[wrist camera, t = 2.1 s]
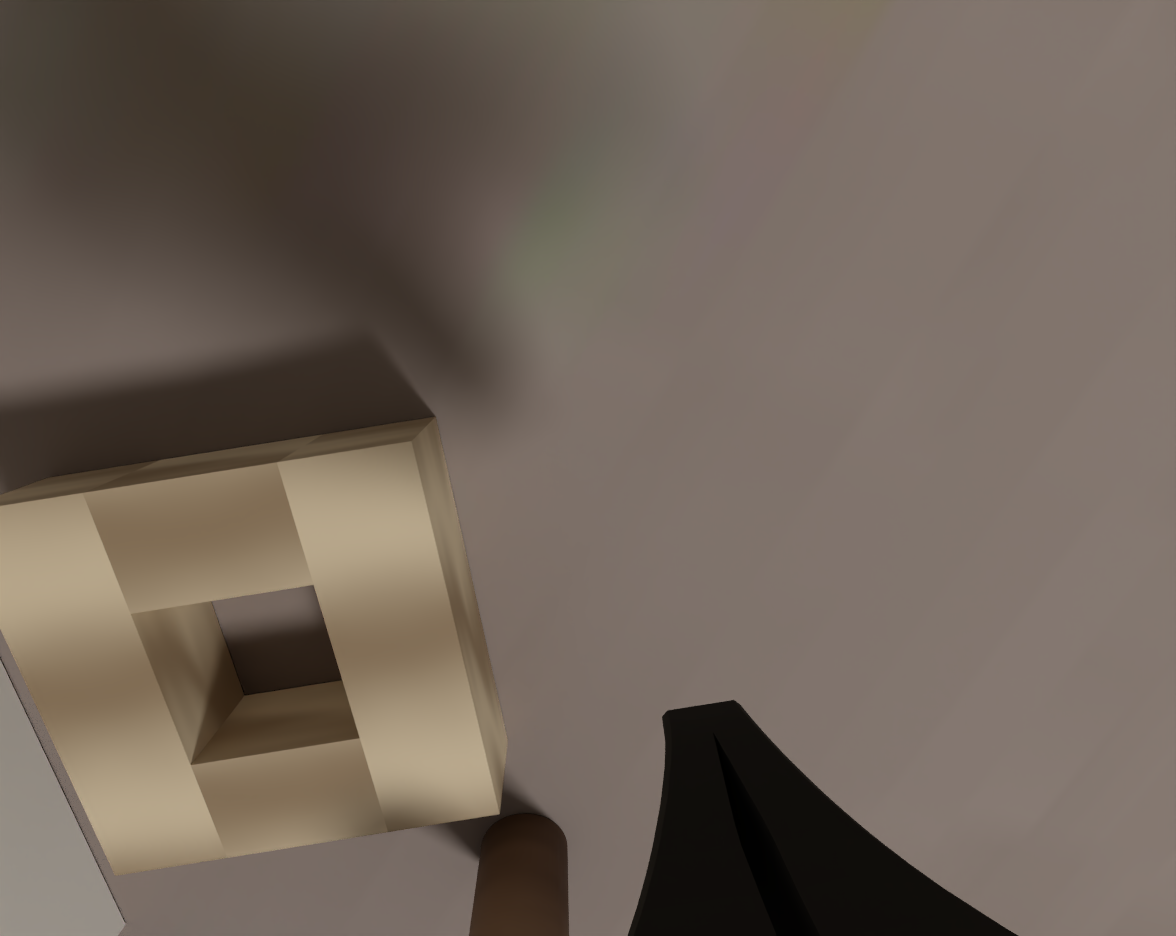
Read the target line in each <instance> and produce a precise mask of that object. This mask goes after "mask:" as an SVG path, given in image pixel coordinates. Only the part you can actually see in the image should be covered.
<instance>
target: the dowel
mask: <svg viewBox="0 0 1176 936" xmlns="http://www.w3.org/2000/svg"><path fill="white" fill-rule="evenodd" d="M469 936H569V910H568V856H567V841H566V837H565V835H564V833H563V832H562V830H561V829H560V828H559V827H558V825H556V824H555V823H554V822H552V821H551V820H549V819H547V818H545V817H542V816H539V815H535V814H516V815H511V816H508V817H505V818H503V819H501V820H499V821H498V822H496V823H495V824H494V825H492V826H491V827H490V828H489V830H488V831H487V832H486V834H485V836H484V838H483V841H482V845H481V853H480V860H479V867H478V874H477V882H476V889H475V896H474V904H473V911H472V918H471V926H470V933H469Z"/></svg>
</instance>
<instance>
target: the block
mask: <svg viewBox="0 0 1176 936" xmlns="http://www.w3.org/2000/svg"><path fill="white" fill-rule="evenodd" d="M309 585H314V588H315V591H316V594H317V598H318V601H319V604H320V608H321V611H322V614H323V618H324V621H325V624H326V628H327V631H328V634H329V638H330V641H331V644H332V648H333V651H334V654H335V657H336V661H337V664H338V667H339V671H340V674H341V677H342V680H340V681H334V682H328V683H321V684H315V685H309V686H303V687H296V688H290V689H284V690H277V691H271V692H265V693H259V694H252V695H246V696H244V693H243V690H242V687H241V684H240V682H239V679H238V676H237V673H236V670H235V667H234V665H233V662H232V659H231V656H230V653H229V651H228V648H227V645H226V642H225V639H224V636H223V634H222V631H221V628H220V625H219V622H218V620H217V617H216V614H215V611H214V608H213V605H212V603H211V601H215V600H221V599H227V598H234V597H240V596H246V595H252V594H259V593H265V592H271V591H278V590H284V589H290V588H297V587H303V586H309ZM0 629H1V631H2V633H3V636H4V638H5V640H6V642H7V644H8V646H9V648H10V651H11V653H12V655H13V657H14V659H15V661H16V663H17V666H18V668H19V670H20V672H21V674H22V676H23V678H24V681H25V683H26V685H27V687H28V689H29V691H30V694H31V696H32V698H33V700H34V702H35V704H36V706H37V709H38V711H39V713H40V715H41V717H42V719H43V721H44V724H45V726H46V728H47V730H48V732H49V734H50V737H51V739H52V741H53V743H54V745H55V747H56V749H57V752H58V754H59V756H60V758H61V760H62V762H63V764H64V767H65V769H66V771H67V773H68V775H69V777H70V779H71V782H72V784H73V786H74V788H75V790H76V792H77V795H78V797H79V799H80V801H81V803H82V805H83V807H84V810H85V812H86V814H87V816H88V818H89V820H90V822H91V825H92V827H93V829H94V831H95V833H96V835H97V838H98V840H99V842H100V844H101V846H102V848H103V850H104V853H105V855H106V857H107V859H108V861H109V863H110V865H111V868H112V870H113V872H114V874H115V876H117V875H123V874H129V873H135V872H142V871H148V870H154V869H160V868H167V867H173V866H179V865H185V864H191V863H198V862H204V861H210V860H216V859H223V858H229V857H235V856H241V855H248V854H254V853H260V852H266V851H273V850H279V849H285V848H291V847H298V846H304V845H310V844H316V843H323V842H329V841H335V840H341V839H348V838H354V837H360V836H366V835H373V834H379V833H385V832H391V831H397V830H404V829H410V828H416V827H422V826H429V825H435V824H441V823H447V822H454V821H460V820H466V819H472V818H479V817H485V816H491V815H497V814H500V806H501V797H502V788H503V779H504V770H505V761H506V752H507V743H508V740H507V735H506V731H505V726H504V722H503V717H502V713H501V708H500V704H499V699H498V695H497V690H496V686H495V681H494V677H493V672H492V668H491V663H490V659H489V654H488V650H487V645H486V641H485V636H484V632H483V627H482V623H481V618H480V614H479V609H478V605H477V600H476V596H475V591H474V587H473V582H472V578H471V573H470V569H469V564H468V560H467V555H466V551H465V546H464V542H463V537H462V533H461V528H460V524H459V519H458V515H457V510H456V506H455V501H454V497H453V492H452V488H451V483H450V479H449V474H448V470H447V465H446V461H445V456H444V452H443V447H442V443H441V438H440V434H439V429H438V425H437V420H436V417H430V418H423V419H417V420H411V421H404V422H398V423H392V424H385V425H379V426H373V427H366V428H360V429H354V430H347V431H341V432H335V433H328V434H322V435H316V436H309V437H303V438H296V439H290V440H284V441H277V442H271V443H265V444H258V445H252V446H246V447H239V448H233V449H227V450H220V451H214V452H208V453H201V454H195V455H189V456H182V457H176V458H169V459H163V460H157V461H150V462H144V463H138V464H131V465H125V466H119V467H112V468H106V469H100V470H93V471H87V472H81V473H74V474H68V475H62V476H55V477H49V478H46V479H43V480H40V481H37V482H35V483H32V484H29V485H26V486H24V487H21V488H18V489H15V490H13V491H10V492H7V493H4V494H2V495H0Z"/></svg>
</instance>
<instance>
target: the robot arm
mask: <svg viewBox="0 0 1176 936" xmlns="http://www.w3.org/2000/svg"><path fill="white" fill-rule="evenodd" d="M662 720H663V727H664V735H665V770H664V779H663V788H662V797H661V804H660V811H659V816H658V821H657V826H656V832H655V837H654V842H653V847H652V852H651V856H650V861H649V865H648V869H647V873H646V877H645V880H644V884H643V888H642V891H641V895H640V898H639V902H638V905H637V909H636V912H635V915H634V918H633V921H632V924H631V927H630V930H629V933H628V936H1018V935H1016V934H1014V933H1013V932H1011V931H1009V930H1008V929H1006V928H1004V927H1003V926H1001V925H1000V924H998V923H997V922H995V921H993V920H992V919H990V918H989V917H987V916H986V915H984V914H983V913H981V912H980V911H978V910H976V909H975V908H973V907H972V906H970V905H969V904H967V903H966V902H964V901H962V900H961V899H959V898H958V897H956V896H955V895H953V894H952V893H950V892H948V891H947V890H945V889H944V888H942V887H941V886H940V885H938V884H937V883H935V882H934V881H933V880H931V879H930V878H928V877H927V876H926V875H924V874H923V873H921V872H920V871H919V870H917V869H916V868H914V867H913V866H912V865H910V864H909V863H908V862H906V861H905V860H904V859H902V858H901V857H900V856H898V855H897V854H896V853H894V852H893V851H892V850H891V849H889V848H888V847H887V846H885V845H884V844H883V843H881V842H880V841H879V840H878V839H876V838H875V837H874V836H873V835H872V834H870V833H869V832H868V831H867V830H865V829H864V828H863V827H862V826H861V825H859V824H858V823H857V822H856V821H855V820H854V819H852V818H851V817H850V816H849V815H848V814H847V813H846V812H844V811H843V810H842V809H841V808H840V807H839V806H838V805H836V804H835V803H834V802H833V801H832V800H831V799H830V798H829V797H828V796H826V795H825V794H824V793H823V792H822V791H821V790H820V789H819V788H818V787H817V786H816V785H815V784H814V783H813V782H812V781H811V780H810V779H809V778H808V777H806V776H805V775H804V774H803V773H802V772H801V771H800V770H799V769H798V768H797V767H796V766H795V765H794V764H793V763H792V762H791V761H790V760H789V759H788V758H787V757H786V756H785V755H784V754H783V753H782V752H781V751H780V749H779V748H778V747H777V746H776V745H775V744H774V743H773V742H772V741H771V740H770V739H769V738H768V737H767V735H766V734H765V733H764V732H763V731H762V730H761V729H760V728H759V727H758V725H757V724H756V723H755V722H754V721H753V720H752V718H751V717H750V716H749V715H748V714H747V712H746V711H745V710H744V709H743V708H742V706H741V705H740V704H739V703H737V702H736V701H734V700H731V701H725V702H719V703H712V704H706V705H700V706H693V707H687V708H681V709H674V710H668V711H667V712H666V713H665V714H664V715H663V716H662Z"/></svg>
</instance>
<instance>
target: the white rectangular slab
mask: <svg viewBox="0 0 1176 936" xmlns="http://www.w3.org/2000/svg"><path fill="white" fill-rule="evenodd" d="M125 925H126V924H125V922H124V920H123V918H122V916H121V914H120V912H119V909H118V907H117V905H116V903H115V901H114V899H113V897H112V895H111V892H110V890H109V888H108V886H107V884H106V882H105V880H104V878H103V876H102V873H101V871H100V869H99V867H98V865H97V863H96V861H95V859H94V857H93V854H92V852H91V850H90V848H89V846H88V844H87V842H86V840H85V837H84V835H83V833H82V831H81V829H80V827H79V825H78V823H77V821H76V818H75V816H74V814H73V812H72V810H71V808H70V806H69V804H68V801H67V799H66V797H65V795H64V793H63V791H62V789H61V787H60V785H59V782H58V780H57V778H56V776H55V774H54V772H53V770H52V768H51V766H50V763H49V761H48V759H47V757H46V755H45V753H44V751H43V749H42V746H41V744H40V742H39V740H38V738H37V736H36V734H35V732H34V730H33V727H32V725H31V723H30V721H29V719H28V717H27V715H26V713H25V710H24V708H23V706H22V704H21V702H20V700H19V698H18V696H17V694H16V691H15V689H14V687H13V685H12V683H11V681H10V679H9V677H8V675H7V672H6V670H5V668H4V666H3V664H2V662H1V660H0V936H118V935H119V933H120V932H121V930H122V929H123V928H124V926H125Z"/></svg>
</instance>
